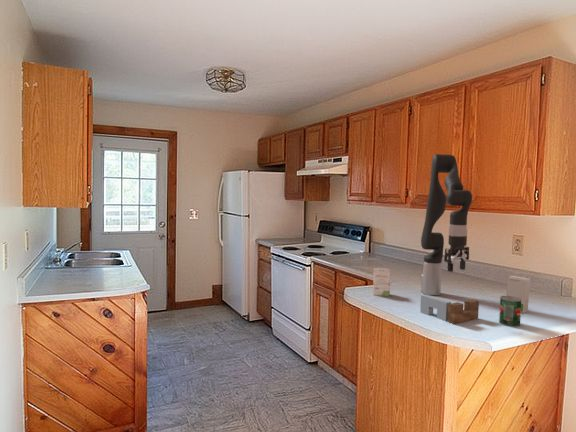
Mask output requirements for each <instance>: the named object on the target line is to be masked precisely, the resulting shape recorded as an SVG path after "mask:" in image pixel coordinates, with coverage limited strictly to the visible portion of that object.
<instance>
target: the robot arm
mask: <svg viewBox="0 0 576 432" xmlns="http://www.w3.org/2000/svg"><path fill="white" fill-rule="evenodd" d="M456 159H457V158H456V156H455V155H452V154H443V153H442V154H439V153H438V154H437V153H435V154H434V155H433V156H432V160H431V167H430V169H431V170H430V180H429V181H430V182H429V188H428V189H429V190H428V197H427V202H426V210H425V211H426V213H425V218H424V225H423V229H422V233H421V237H420V238H421V239H420V245H421V247H422V249H423V250H429V251H431V250H433V251H432V252H430V253H429V254H426V255H424V256H423V269H422V270H423V272H422V274H421V285H420V292H421V293H423V295H425V294H426V295H429V296H439V295H441V293H442V292H441V291H442V268H443V267H442V266H443V263H442V262H443V261H444V262H445V263H447V271H448V272H450V273H453V272H454V262H455V260H456V259H458V258H459V270H461V271H464V270H466V262H467V261H468V260H470V247H469V246H467V242H468V225H467V224H468V223H467V222H468V214H469V210H470V207H471V205H472V202H473V201H472V200H473V194H472V192H471V191H470V190H467V189H464V185H463V183H462V181H461V179H460V175H459V168H458V161H457V160H456ZM439 173H440V174H441V173H443V174H447V175H446V177H445V179H444V186H445V190H446V193H447V194H446V193H445V191H444V189H443V188H442V185H441V183H440V180H439ZM447 204H448V205H449V206H453V207H456V206H458V207H459V206H460V207H461V208H460V209H458V210H454V211H451V212H450V214H449V227H448V245H449V246H450V247H449V248H448V247H445V248H444V245H445V239H444V235H443V233H442V232H433V229H434V227H435V224H436V223H437V222H438V221H439V219H440V218H441V217H442V216H443V214H444V213H445V211H446V205H447ZM443 256H444V257H443ZM443 258H444V260H443Z"/></svg>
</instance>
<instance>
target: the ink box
mask: <svg viewBox="0 0 576 432" xmlns="http://www.w3.org/2000/svg"><path fill="white" fill-rule="evenodd" d="M372 283H373V284H372V285H373V286H372V287H373V288H372V294H373V296H381V297H382V296H383V297H390V293H391V272H390V268H385V267H374V268H373V280H372Z"/></svg>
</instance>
